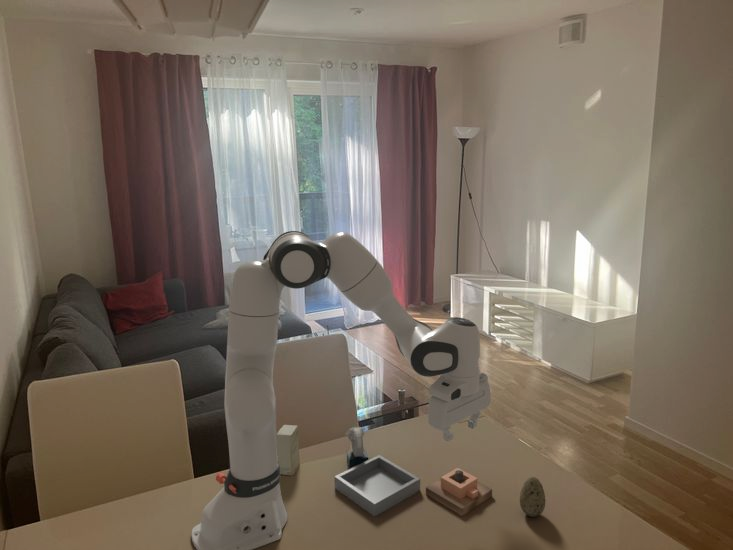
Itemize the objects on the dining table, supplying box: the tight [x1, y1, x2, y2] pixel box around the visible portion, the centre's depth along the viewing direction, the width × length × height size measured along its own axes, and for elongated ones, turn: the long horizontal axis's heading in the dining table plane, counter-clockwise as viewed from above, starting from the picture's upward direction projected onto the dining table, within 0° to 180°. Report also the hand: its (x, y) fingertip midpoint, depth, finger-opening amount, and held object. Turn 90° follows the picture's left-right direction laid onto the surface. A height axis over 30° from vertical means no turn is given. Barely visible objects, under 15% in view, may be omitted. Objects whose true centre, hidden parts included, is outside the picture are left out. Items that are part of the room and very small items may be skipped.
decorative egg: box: [519, 476, 546, 518], centre depth 131 cm, size 6×6×10 cm
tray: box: [334, 454, 421, 518], centre depth 142 cm, size 16×16×4 cm
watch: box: [345, 426, 369, 470], centre depth 154 cm, size 6×8×11 cm
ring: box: [440, 467, 478, 499], centre depth 138 cm, size 7×9×3 cm
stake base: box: [425, 470, 493, 517], centre depth 139 cm, size 12×12×6 cm
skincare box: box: [276, 424, 301, 476], centre depth 152 cm, size 6×4×12 cm
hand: (460, 433), depth 136 cm, fingers open, 8 cm apart
